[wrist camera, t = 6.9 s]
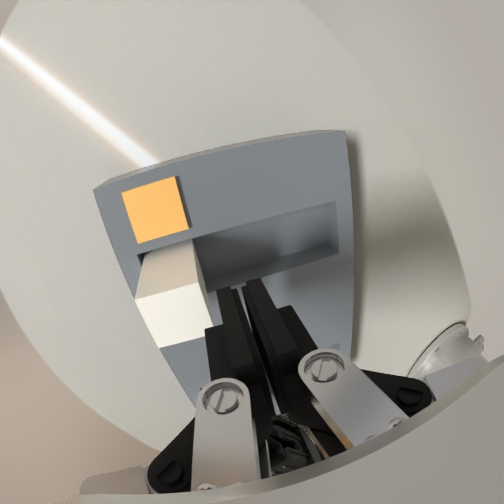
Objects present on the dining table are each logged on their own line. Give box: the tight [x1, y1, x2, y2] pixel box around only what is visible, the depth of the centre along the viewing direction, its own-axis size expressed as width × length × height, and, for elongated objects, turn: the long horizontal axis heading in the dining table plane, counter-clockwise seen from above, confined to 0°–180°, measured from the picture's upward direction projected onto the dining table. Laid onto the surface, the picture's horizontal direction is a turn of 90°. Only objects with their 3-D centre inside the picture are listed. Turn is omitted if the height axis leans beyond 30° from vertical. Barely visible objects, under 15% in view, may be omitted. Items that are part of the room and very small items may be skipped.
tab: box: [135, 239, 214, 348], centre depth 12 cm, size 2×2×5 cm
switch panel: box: [93, 130, 354, 415], centre depth 17 cm, size 12×20×3 cm, turn 11°
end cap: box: [267, 416, 321, 477], centre depth 24 cm, size 10×7×7 cm
